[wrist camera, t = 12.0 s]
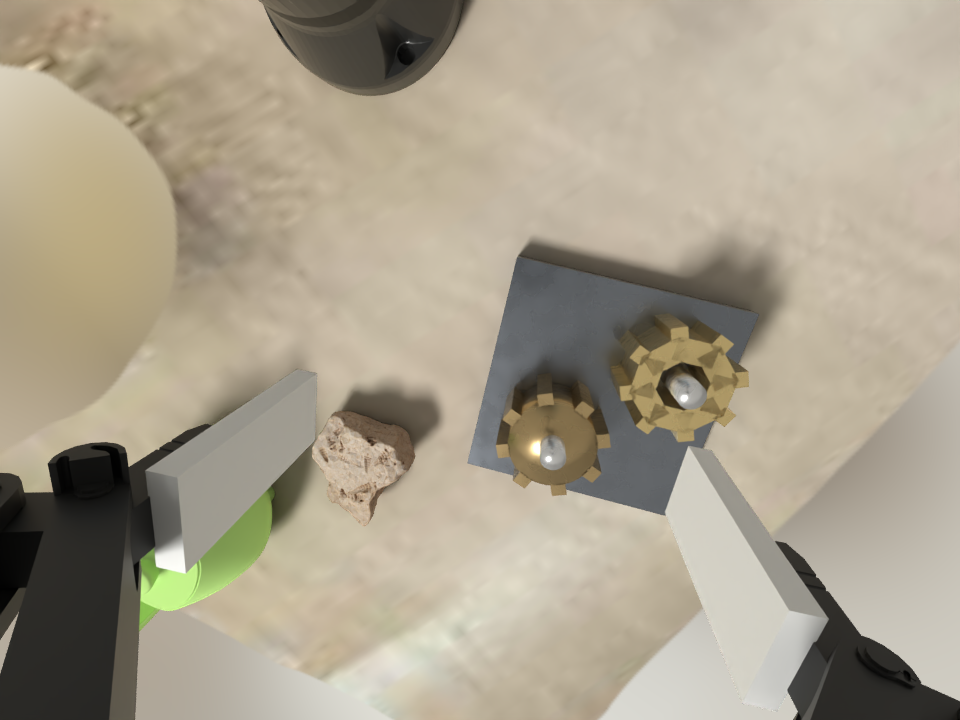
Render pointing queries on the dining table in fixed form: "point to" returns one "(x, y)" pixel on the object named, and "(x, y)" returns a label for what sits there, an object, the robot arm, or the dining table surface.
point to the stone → (361, 460)
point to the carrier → (587, 385)
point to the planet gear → (665, 351)
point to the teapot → (207, 564)
